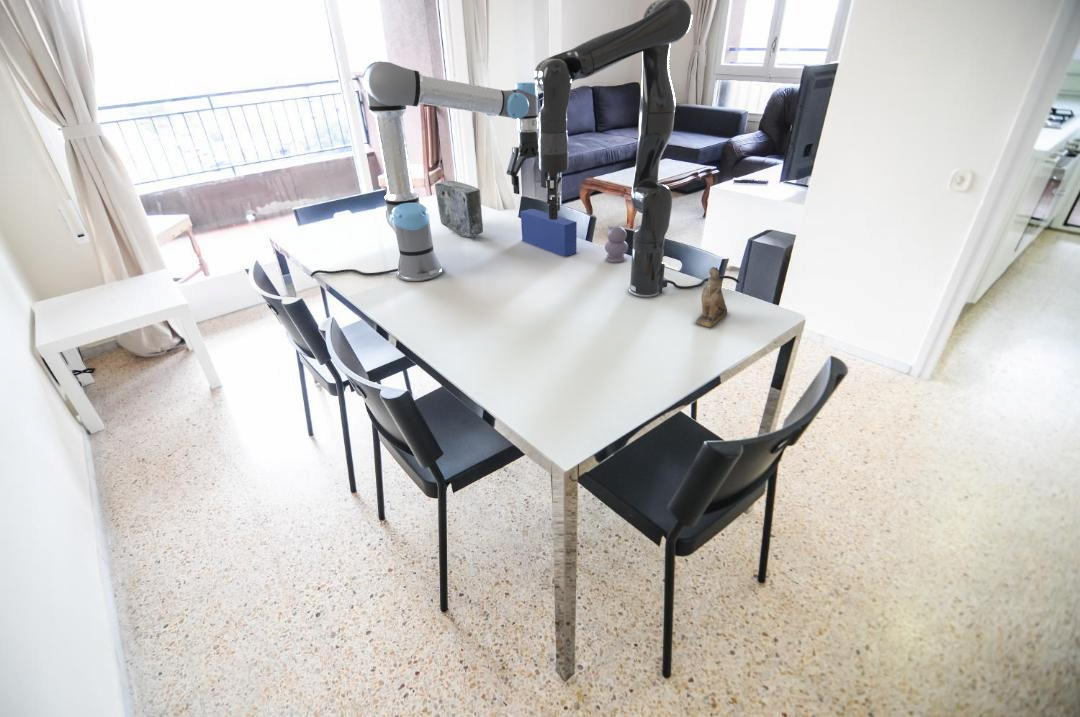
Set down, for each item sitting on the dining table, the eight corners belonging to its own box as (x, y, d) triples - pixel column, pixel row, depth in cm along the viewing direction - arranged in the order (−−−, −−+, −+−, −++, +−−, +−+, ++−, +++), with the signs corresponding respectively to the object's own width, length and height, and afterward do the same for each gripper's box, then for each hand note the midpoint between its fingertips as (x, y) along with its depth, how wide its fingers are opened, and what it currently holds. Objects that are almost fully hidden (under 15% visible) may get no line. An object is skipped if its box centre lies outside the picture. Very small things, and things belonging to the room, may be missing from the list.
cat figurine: (631, 259, 181) (633, 226, 175) (619, 265, 176) (620, 231, 170) (612, 254, 186) (614, 222, 180) (599, 259, 181) (600, 227, 175)
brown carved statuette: (709, 335, 136) (713, 280, 124) (691, 329, 139) (693, 274, 128) (730, 313, 142) (736, 258, 130) (712, 307, 145) (716, 253, 133)
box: (522, 240, 204) (520, 211, 197) (533, 237, 207) (532, 208, 200) (564, 257, 186) (564, 225, 179) (576, 253, 189) (576, 221, 182)
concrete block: (488, 238, 207) (483, 189, 196) (469, 243, 203) (464, 193, 192) (458, 224, 226) (452, 179, 215) (440, 228, 221) (434, 182, 211)
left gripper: (506, 135, 172) (510, 198, 183) (560, 127, 185) (561, 186, 196) (494, 133, 177) (498, 194, 188) (547, 126, 190) (548, 183, 202)
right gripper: (566, 155, 119) (567, 222, 128) (569, 146, 131) (570, 207, 140) (535, 156, 120) (538, 222, 129) (541, 146, 132) (543, 208, 141)
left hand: (530, 190), depth 192 cm, fingers open, 13 cm apart
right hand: (554, 214), depth 134 cm, fingers open, 8 cm apart
